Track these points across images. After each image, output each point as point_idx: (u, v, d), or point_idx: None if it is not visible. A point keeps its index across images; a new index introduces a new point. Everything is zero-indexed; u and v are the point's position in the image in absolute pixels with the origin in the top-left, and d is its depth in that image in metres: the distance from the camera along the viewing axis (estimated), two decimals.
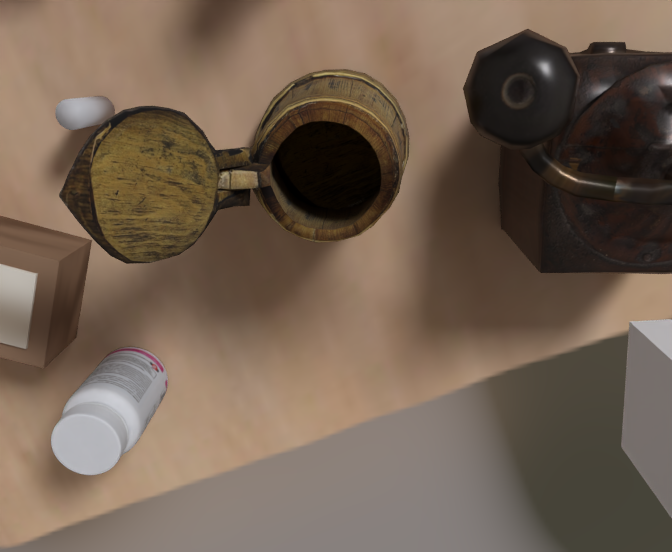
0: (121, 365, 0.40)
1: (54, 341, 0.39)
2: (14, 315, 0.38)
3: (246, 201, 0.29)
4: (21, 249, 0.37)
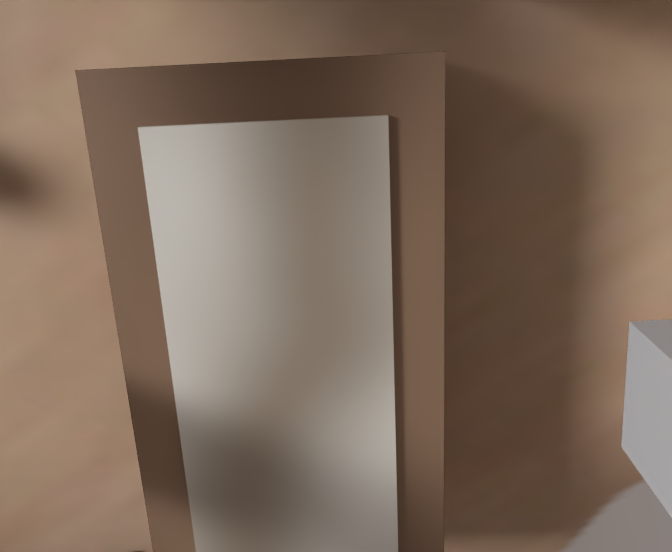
0: None
1: None
2: (288, 168, 0.13)
3: None
4: (98, 187, 0.13)
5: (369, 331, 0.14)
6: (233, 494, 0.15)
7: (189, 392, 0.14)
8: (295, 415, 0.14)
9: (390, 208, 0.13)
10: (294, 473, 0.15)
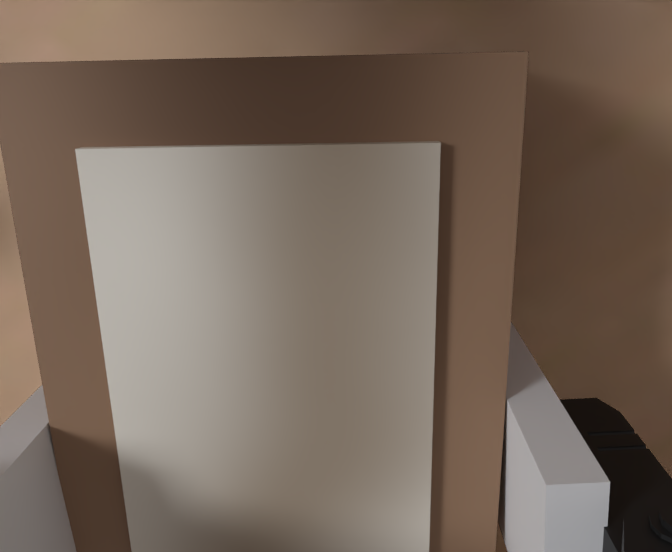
0: None
1: None
2: (292, 214, 0.09)
3: None
4: (23, 229, 0.09)
5: (399, 440, 0.10)
6: None
7: (147, 511, 0.10)
8: (292, 546, 0.10)
9: (436, 274, 0.09)
10: None
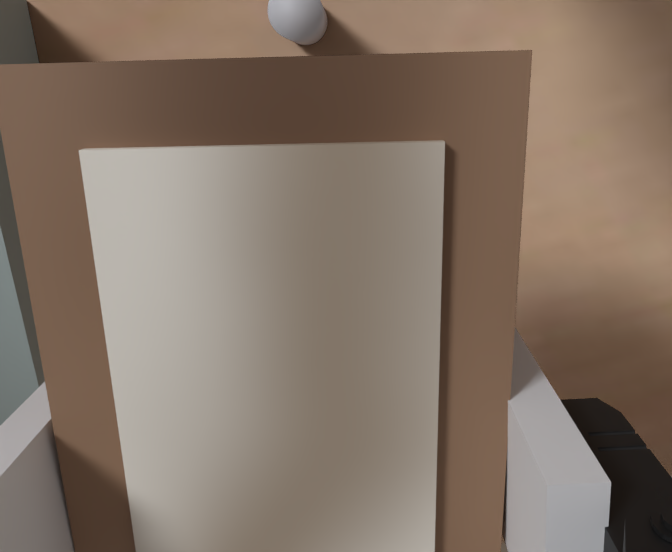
0: None
1: None
2: (297, 214, 0.09)
3: None
4: (25, 232, 0.09)
5: (404, 439, 0.10)
6: None
7: (151, 513, 0.10)
8: (297, 546, 0.10)
9: (441, 273, 0.09)
10: None
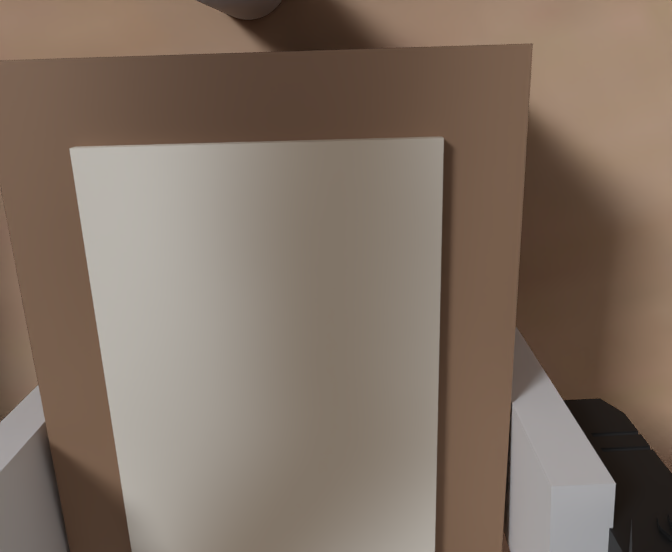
0: None
1: None
2: (293, 212, 0.08)
3: None
4: (16, 231, 0.09)
5: (403, 441, 0.10)
6: None
7: (147, 516, 0.10)
8: (296, 549, 0.10)
9: (440, 272, 0.09)
10: None
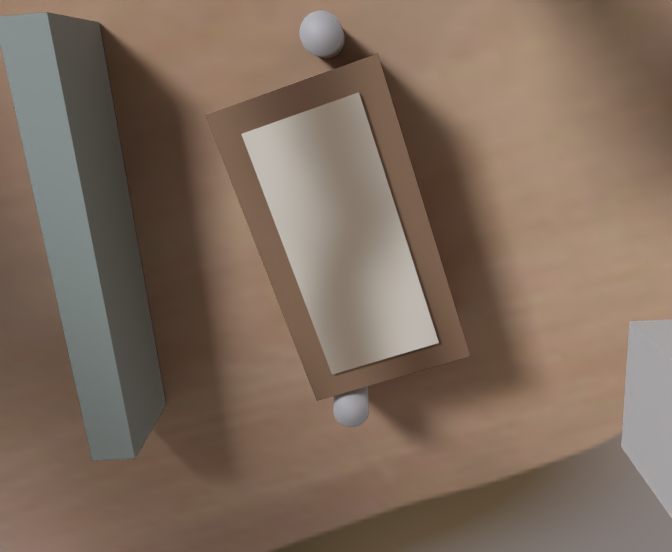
0: None
1: None
2: (318, 132, 0.25)
3: None
4: (228, 170, 0.26)
5: (382, 205, 0.26)
6: (336, 316, 0.27)
7: (299, 264, 0.26)
8: (356, 262, 0.26)
9: (373, 138, 0.25)
10: (365, 295, 0.27)
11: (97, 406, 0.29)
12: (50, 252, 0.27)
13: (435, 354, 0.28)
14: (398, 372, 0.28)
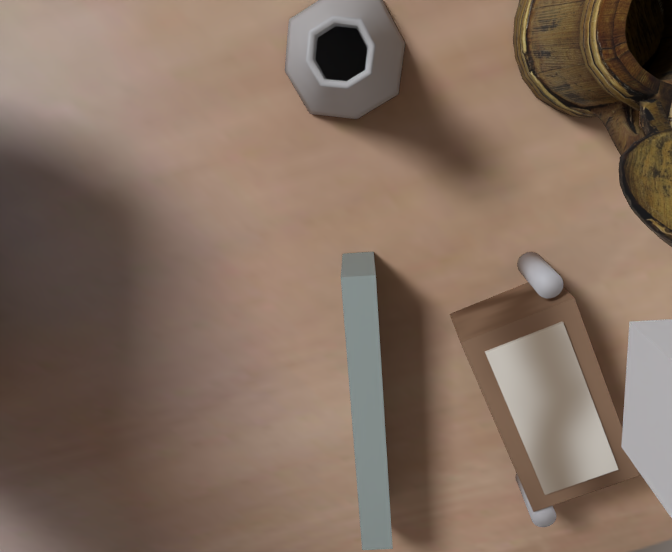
0: None
1: (546, 300, 0.38)
2: (536, 348, 0.38)
3: None
4: None
5: (578, 387, 0.39)
6: (548, 458, 0.40)
7: (522, 428, 0.40)
8: (562, 423, 0.39)
9: (572, 348, 0.38)
10: (567, 443, 0.40)
11: (371, 514, 0.42)
12: (354, 417, 0.40)
13: (615, 476, 0.41)
14: (590, 489, 0.41)
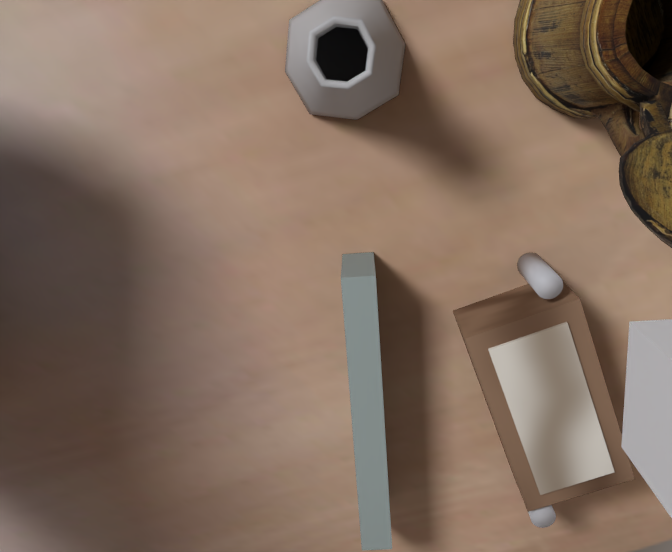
0: None
1: (551, 300, 0.38)
2: (539, 347, 0.38)
3: None
4: (475, 370, 0.39)
5: (579, 389, 0.39)
6: (545, 458, 0.40)
7: (522, 427, 0.40)
8: (561, 424, 0.40)
9: (575, 348, 0.38)
10: (565, 444, 0.40)
11: (371, 515, 0.42)
12: (354, 417, 0.40)
13: (611, 478, 0.41)
14: (585, 491, 0.41)
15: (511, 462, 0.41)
